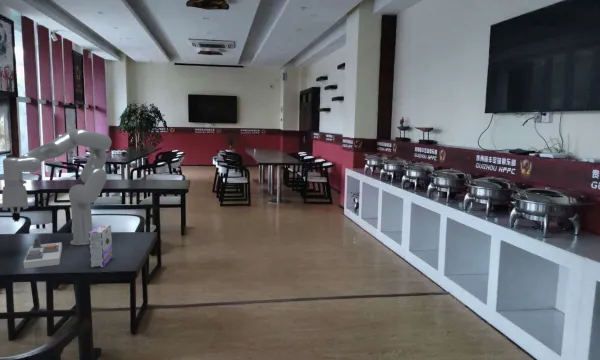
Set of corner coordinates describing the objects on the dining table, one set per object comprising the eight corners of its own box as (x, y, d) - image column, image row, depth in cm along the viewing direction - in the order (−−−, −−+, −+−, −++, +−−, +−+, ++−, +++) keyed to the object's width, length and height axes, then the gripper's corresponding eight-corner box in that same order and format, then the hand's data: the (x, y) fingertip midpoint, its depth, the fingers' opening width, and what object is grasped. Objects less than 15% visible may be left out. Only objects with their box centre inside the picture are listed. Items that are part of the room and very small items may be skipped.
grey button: (40, 252, 214) (39, 247, 213) (39, 254, 210) (38, 249, 210) (30, 253, 212) (29, 248, 212) (29, 256, 208) (28, 250, 208)
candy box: (100, 258, 220) (98, 224, 218) (113, 258, 220) (111, 224, 218) (90, 267, 206) (87, 231, 204) (103, 267, 207) (101, 231, 205)
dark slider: (41, 245, 230) (40, 237, 229) (40, 247, 225) (39, 239, 225) (34, 246, 229) (33, 238, 228) (33, 248, 224) (32, 240, 224)
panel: (62, 248, 237) (61, 239, 237) (59, 264, 210) (58, 254, 210) (31, 251, 231) (30, 242, 231) (23, 268, 205) (23, 258, 204)
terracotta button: (55, 248, 224) (55, 243, 224) (55, 250, 221) (55, 246, 220) (46, 249, 223) (46, 244, 222) (45, 251, 219) (45, 247, 219)
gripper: (32, 181, 226) (34, 218, 228) (-4, 183, 219) (-1, 221, 222) (31, 183, 219) (33, 221, 222) (-7, 185, 213) (-3, 224, 215)
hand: (16, 221), depth 222 cm, fingers closed
